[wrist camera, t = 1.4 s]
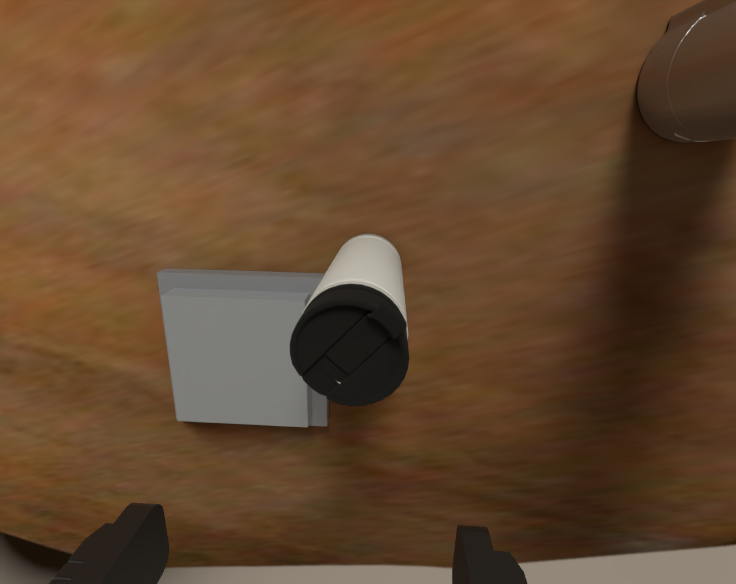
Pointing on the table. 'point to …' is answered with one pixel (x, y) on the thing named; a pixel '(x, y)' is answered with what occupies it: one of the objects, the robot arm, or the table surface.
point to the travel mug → (355, 326)
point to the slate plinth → (238, 346)
